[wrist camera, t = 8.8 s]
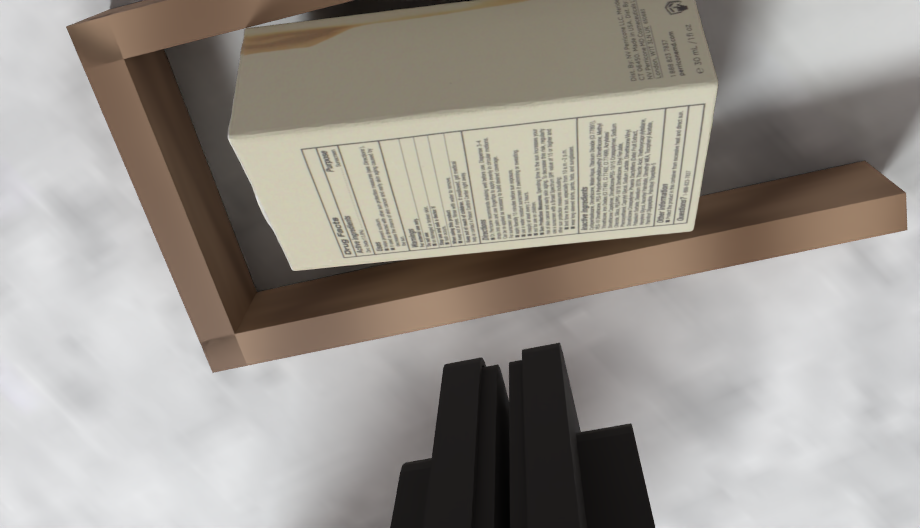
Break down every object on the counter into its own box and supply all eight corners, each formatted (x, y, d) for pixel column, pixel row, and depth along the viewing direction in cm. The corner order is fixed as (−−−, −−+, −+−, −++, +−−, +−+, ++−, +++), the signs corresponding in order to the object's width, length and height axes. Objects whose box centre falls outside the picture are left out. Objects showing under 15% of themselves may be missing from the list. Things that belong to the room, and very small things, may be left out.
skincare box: (694, -33, 23) (238, 11, 24) (729, 83, 20) (218, 129, 21) (668, 135, 28) (296, 167, 29) (694, 243, 26) (286, 276, 26)
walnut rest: (845, -185, 24) (891, -191, 21) (866, 194, 29) (907, 229, 26) (108, 9, 27) (66, 26, 24) (236, 328, 31) (212, 372, 29)
